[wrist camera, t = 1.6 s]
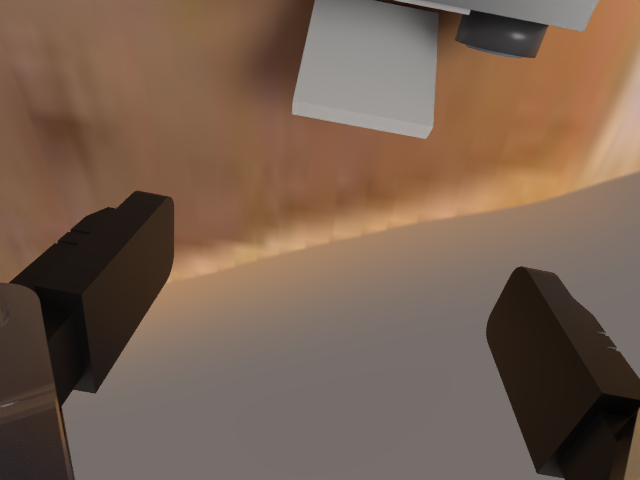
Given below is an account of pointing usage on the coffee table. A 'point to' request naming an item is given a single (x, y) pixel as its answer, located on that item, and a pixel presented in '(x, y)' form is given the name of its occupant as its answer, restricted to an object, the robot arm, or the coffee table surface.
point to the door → (369, 66)
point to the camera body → (512, 22)
